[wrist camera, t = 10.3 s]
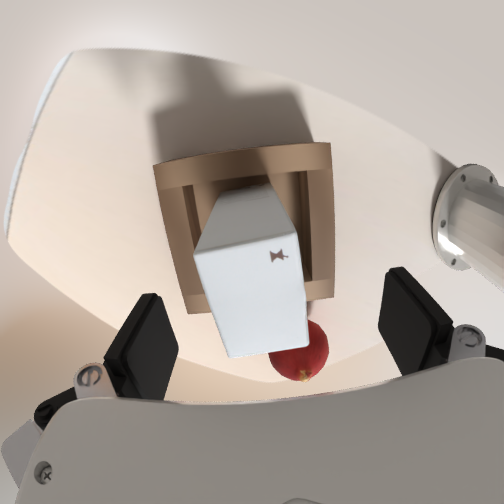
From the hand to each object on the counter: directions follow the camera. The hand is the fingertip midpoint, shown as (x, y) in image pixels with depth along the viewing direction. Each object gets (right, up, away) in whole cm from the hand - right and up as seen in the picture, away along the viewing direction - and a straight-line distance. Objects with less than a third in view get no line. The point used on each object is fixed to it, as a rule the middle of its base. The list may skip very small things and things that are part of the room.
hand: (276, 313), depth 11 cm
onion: (+3, -5, +17) cm, 18 cm away
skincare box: (-1, +5, +12) cm, 13 cm away
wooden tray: (-1, +5, +13) cm, 14 cm away
